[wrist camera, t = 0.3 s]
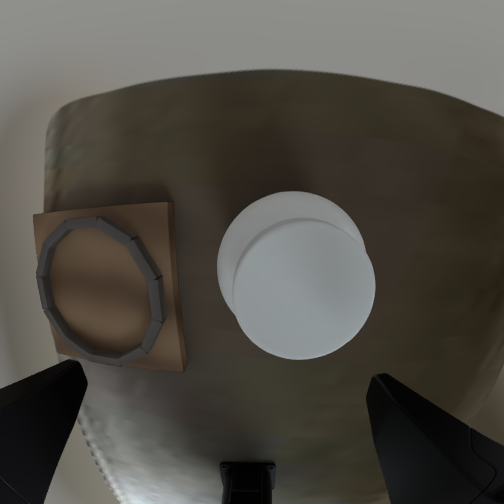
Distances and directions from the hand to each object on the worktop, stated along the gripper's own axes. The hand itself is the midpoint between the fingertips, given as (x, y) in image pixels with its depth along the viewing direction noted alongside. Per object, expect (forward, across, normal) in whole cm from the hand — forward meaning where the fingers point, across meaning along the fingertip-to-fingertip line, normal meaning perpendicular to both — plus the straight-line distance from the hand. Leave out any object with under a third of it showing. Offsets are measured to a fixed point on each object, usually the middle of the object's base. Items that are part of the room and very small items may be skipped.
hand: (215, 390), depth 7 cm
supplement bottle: (+15, -3, -1) cm, 15 cm away
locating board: (+14, +12, +3) cm, 19 cm away
